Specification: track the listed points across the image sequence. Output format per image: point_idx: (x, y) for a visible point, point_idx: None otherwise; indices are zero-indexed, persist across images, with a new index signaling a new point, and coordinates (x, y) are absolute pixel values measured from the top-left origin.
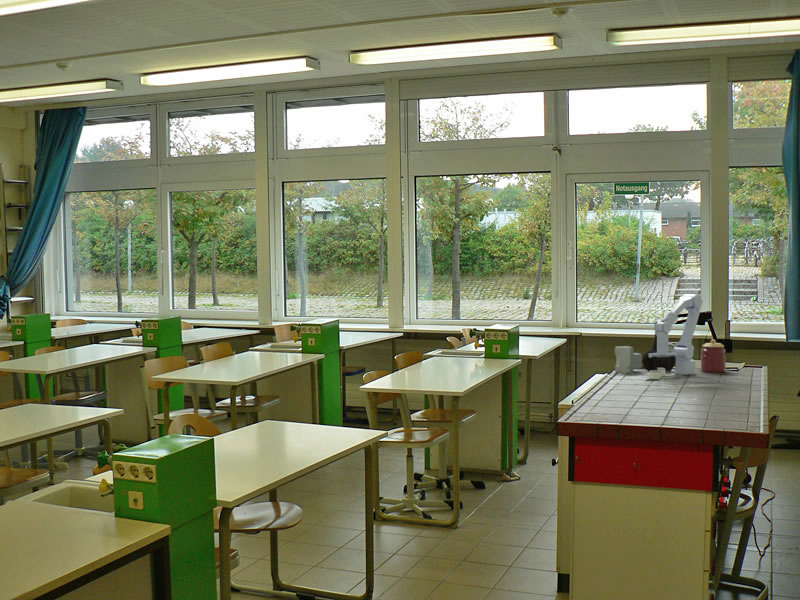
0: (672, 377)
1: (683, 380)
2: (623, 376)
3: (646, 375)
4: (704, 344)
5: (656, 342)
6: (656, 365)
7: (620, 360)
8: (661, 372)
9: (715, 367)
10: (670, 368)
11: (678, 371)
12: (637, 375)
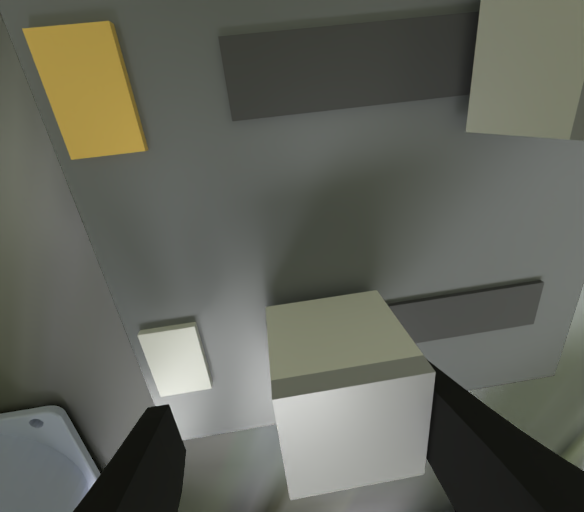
0: (143, 406)
1: (8, 137)
2: (574, 444)
3: (363, 496)
4: None
5: None
6: (510, 442)
7: None
8: (340, 332)
9: None
10: (151, 438)
11: (24, 509)
12: (435, 492)
